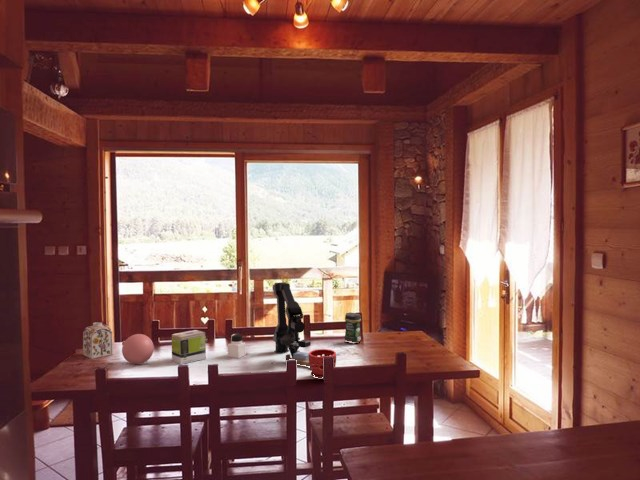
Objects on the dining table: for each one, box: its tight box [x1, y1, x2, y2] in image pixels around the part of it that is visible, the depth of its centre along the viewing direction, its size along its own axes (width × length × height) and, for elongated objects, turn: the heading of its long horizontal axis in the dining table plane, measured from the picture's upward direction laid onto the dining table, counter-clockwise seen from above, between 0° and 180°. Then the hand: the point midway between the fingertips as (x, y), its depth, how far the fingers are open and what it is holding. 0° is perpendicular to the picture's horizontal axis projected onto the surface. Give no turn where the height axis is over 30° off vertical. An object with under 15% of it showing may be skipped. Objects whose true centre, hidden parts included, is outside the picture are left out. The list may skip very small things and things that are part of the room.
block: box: [293, 350, 309, 361], centre depth 253 cm, size 8×6×5 cm
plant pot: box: [308, 348, 337, 378], centre depth 229 cm, size 13×13×12 cm
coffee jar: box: [344, 312, 362, 342], centre depth 296 cm, size 10×8×19 cm
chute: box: [285, 350, 325, 366], centre depth 251 cm, size 18×11×4 cm, turn 58°
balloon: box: [121, 333, 155, 365], centre depth 251 cm, size 15×20×15 cm
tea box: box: [171, 329, 207, 365], centre depth 257 cm, size 15×10×15 cm, turn 134°
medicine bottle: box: [227, 333, 247, 359], centre depth 265 cm, size 7×7×12 cm
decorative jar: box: [82, 322, 114, 360], centre depth 265 cm, size 12×12×18 cm
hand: (293, 357), depth 256 cm, fingers closed
